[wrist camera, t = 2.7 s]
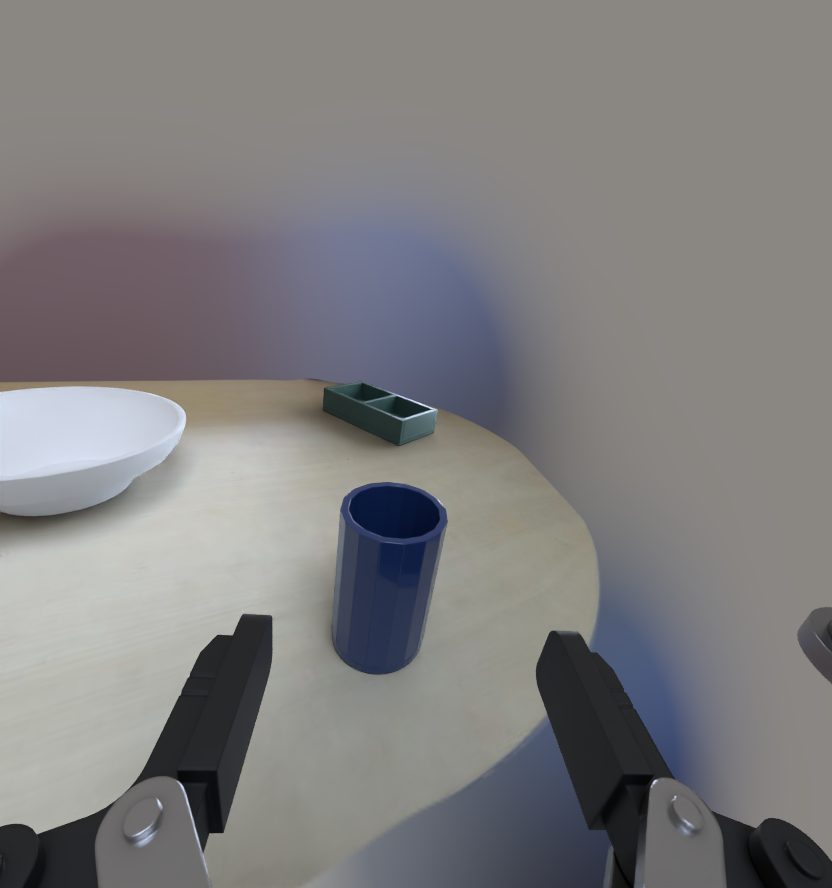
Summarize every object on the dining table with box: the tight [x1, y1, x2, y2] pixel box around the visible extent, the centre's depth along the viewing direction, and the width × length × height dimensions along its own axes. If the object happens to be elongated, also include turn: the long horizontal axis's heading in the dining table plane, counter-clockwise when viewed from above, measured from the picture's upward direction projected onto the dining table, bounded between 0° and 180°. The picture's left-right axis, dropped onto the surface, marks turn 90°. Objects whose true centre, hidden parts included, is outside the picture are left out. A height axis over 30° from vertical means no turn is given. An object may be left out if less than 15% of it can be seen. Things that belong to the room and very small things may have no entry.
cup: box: [332, 482, 448, 674], centre depth 25 cm, size 6×6×10 cm
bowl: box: [0, 387, 186, 516], centre depth 34 cm, size 20×20×7 cm
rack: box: [323, 381, 437, 446], centre depth 61 cm, size 8×16×4 cm, turn 52°
